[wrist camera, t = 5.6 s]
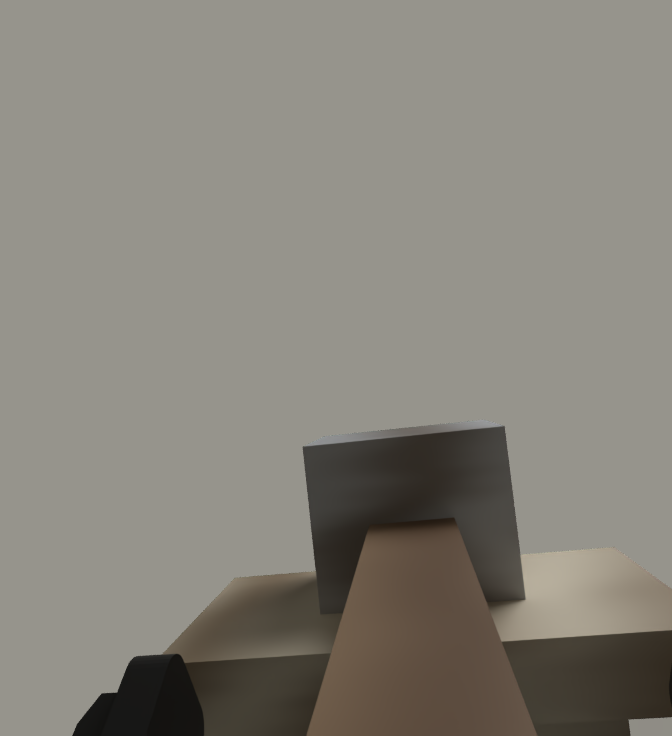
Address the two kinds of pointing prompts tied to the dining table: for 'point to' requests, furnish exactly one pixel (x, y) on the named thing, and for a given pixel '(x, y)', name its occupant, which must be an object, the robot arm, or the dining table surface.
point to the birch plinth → (514, 625)
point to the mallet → (416, 581)
